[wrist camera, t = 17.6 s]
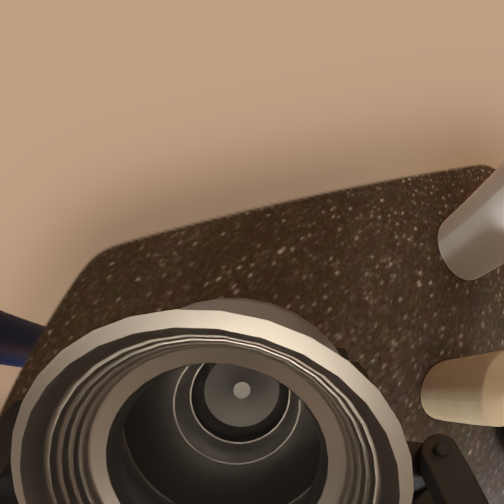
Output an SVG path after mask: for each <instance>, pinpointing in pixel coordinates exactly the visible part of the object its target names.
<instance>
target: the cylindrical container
mask: <svg viewBox="0 0 504 504" xmlns="http://www.w3.org/2000/svg"><path fill="white" fill-rule="evenodd" d="M438 246H439V250H440V253H441V256H442V258H443V260H444V262H445V264H446V265H447V267H448V268H449V269H450V270H451V271H452V272H453V273H454V274H455V275H456V276H458V277H459V278H461V279H464V280H475V279H477V278H479V277H481V276H483V275H485V274H486V273H488V272H490V271H492V270H493V269H495V268H497V267H499V266H500V265H502V264H504V162H503V163H502V164H501V165H500V166H499V167H498V168H497V169H496V170H495V171H494V172H493V174H492V175H491V176H490V177H489V178H488V179H487V180H486V181H485V182H484V183H483V184H482V185H481V186H480V187H479V188H478V189H477V190H476V191H475V192H474V193H473V194H472V195H471V196H470V197H469V198H468V199H467V200H466V201H465V202H464V203H463V204H462V205H460V206H459V207H458V208H457V209H456V210H455V211H454V212H453V213H452V214H451V215H450V216H449V217H448V218H447V219H446V220H445V221H444V222H442V224H441V226H440V228H439V231H438Z"/></svg>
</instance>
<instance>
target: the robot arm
mask: <svg viewBox="0 0 504 504" xmlns="http://www.w3.org/2000/svg"><path fill="white" fill-rule="evenodd" d="M336 350H337V351H338V352H339V354H340V355H341V357H343V358H344V359H346V360H347V361H349V359H348V356H347V353H346V350H345V349H344V348H336ZM350 363H351V364H352V365H353V366H354V367H355V368H356V369H357V370H358V371H359V372H360V373H361V374H362V375H363V376H364V377H366V378H367V379H368V380H369V378H368V376H367V373H366V371H365V370H364V369H363V367H362V366H361V365H360V364H359V363H358V362H350ZM23 400H24V399H23ZM23 400H19V401H17V402H15V403H14V404H13V405H12V406H11V407H10V408H9V409H8V410H7V412H6V413H5V414H4V415H3V416H2V418H1V419H0V504H19V503H18V500H17V497H16V494H15V490H14V484H13V477H12V469H11V447H12V435H13V429H14V426H15V423H16V419H17V416H18V413H19V410H20V407H21V404H22V401H23ZM406 442H407V445H408V448H409V451H410V454H411V458H412V470H413V486H414V493H413V499H412V504H489V503H488V501H487V499H486V497H485V495H484V493H483V491H482V489H481V487H480V486H479V484H478V482H477V480H476V478H475V476H474V474H473V473H472V471H471V469H470V467H469V465H468V464H467V462H466V460H465V458H464V456H463V455H462V453H461V451H460V450H459V448H458V446H457V444H456V443H455V442H454V440H453V439H451V438H450V437H448V436H446V435H442V434H435V435H432V436H430V437H428V438H427V439H426V440H425V441H424V443H418V442H410V441H406Z"/></svg>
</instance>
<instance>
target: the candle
mask: <svg viewBox="0 0 504 504" xmlns="http://www.w3.org/2000/svg"><path fill="white" fill-rule="evenodd" d="M421 403H422V406H423V409H424V410H425V412H426V413H427V414H428V415H429V416H431V417H432V418H435V419H439V420H444V421H451V422H458V423H466V424H474V425H484V426H495V427H502V426H504V350H501V351H496V352H491V353H486V354H481V355H475V356H470V357H464V358H458V359H451V360H446V361H442V362H440V363H438V364H436V365H435V366H433V367H432V368H431V369H430V370H429V372H428V373H427V375H426V376H425V378H424V381H423V384H422V387H421Z"/></svg>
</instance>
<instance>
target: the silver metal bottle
mask: <svg viewBox="0 0 504 504" xmlns="http://www.w3.org/2000/svg"><path fill="white" fill-rule="evenodd" d="M11 469H12V477H13V484H14V490H15V494H16V497H17V500H18V503H19V504H412V499H413V493H414V486H413V470H412V458H411V454H410V451H409V448H408V445H407V442H406V439H405V436H404V433H403V430H402V428H401V425H400V422H399V421H398V419H397V418H396V416H395V415H394V413H393V411H392V410H391V408H390V407H389V405H388V404H387V402H386V401H385V399H384V397H383V396H382V394H381V393H380V391H379V390H378V389H377V388H376V387H375V386H374V385H373V384H372V383H371V382H370V381H369V380H368V379H367V378H366V377H364V376H363V375H362V374H361V373H360V372H359V371H358V370H357V369H356V368H355V367H354V366H353V365H352V364H351V363H350V362H349V361H347V360H346V359H344V358H343V357H341V355H340V354H339V352H338V351H337V350H336V348H335V347H334V345H333V344H332V342H331V341H330V340H329V339H327V338H326V337H325V336H324V335H323V334H322V333H321V332H320V331H319V330H318V329H317V328H316V327H315V326H314V325H312V324H311V323H309V322H308V321H306V320H305V319H303V318H302V317H300V316H299V315H297V314H296V313H294V312H292V311H289V310H287V309H284V308H282V307H279V306H277V305H274V304H272V303H268V302H262V301H257V300H252V299H247V298H219V299H213V300H207V301H202V302H196V303H193V304H191V305H188V306H186V307H183V308H180V309H178V310H168V311H162V312H156V313H150V314H144V315H137V316H131V317H128V318H126V319H123V320H120V321H118V322H115V323H112V324H110V325H107V326H104V327H101V328H99V329H96V330H93V331H92V332H90V333H89V334H87V335H85V336H84V337H82V338H81V339H79V340H78V341H76V342H74V343H73V344H71V345H70V346H68V347H67V348H65V349H64V350H62V351H61V352H60V353H59V354H58V355H57V356H56V357H55V358H54V359H53V360H52V361H51V362H50V363H49V364H48V365H47V366H46V367H45V368H44V369H43V370H42V371H41V372H40V374H39V375H38V376H37V378H36V379H35V381H34V383H33V384H32V386H31V388H30V389H29V391H28V393H27V394H26V396H25V398H24V400H23V401H22V404H21V407H20V410H19V413H18V416H17V419H16V423H15V426H14V429H13V435H12V447H11Z"/></svg>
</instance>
